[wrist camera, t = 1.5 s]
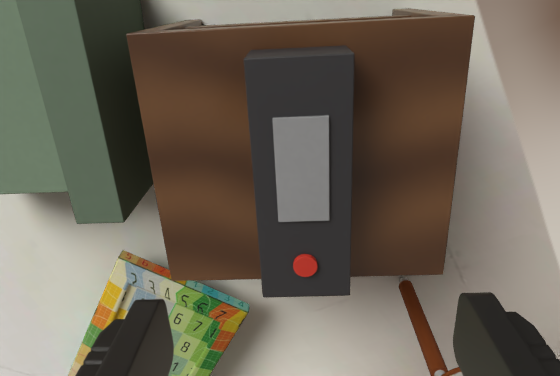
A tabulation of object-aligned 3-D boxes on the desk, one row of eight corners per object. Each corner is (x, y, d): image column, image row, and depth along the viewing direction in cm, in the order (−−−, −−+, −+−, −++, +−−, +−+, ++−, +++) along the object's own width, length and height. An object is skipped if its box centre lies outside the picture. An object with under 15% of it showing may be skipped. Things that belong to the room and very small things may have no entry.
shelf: (184, 20, 31) (125, 33, 20) (409, 8, 30) (475, 15, 19) (207, 196, 37) (171, 281, 26) (397, 189, 36) (443, 274, 25)
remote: (249, 49, 20) (242, 59, 17) (346, 45, 20) (355, 53, 17) (266, 264, 25) (262, 301, 22) (343, 263, 25) (350, 298, 22)
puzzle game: (48, 417, 42) (114, 263, 34) (71, 377, 46) (134, 233, 38) (162, 456, 44) (247, 319, 36) (173, 415, 48) (252, 285, 40)
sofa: (3, 170, 36) (-94, 229, 27) (-58, -13, 31) (-207, -16, 22) (167, 164, 36) (124, 222, 27) (136, -24, 30) (67, -33, 21)
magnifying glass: (429, 241, 38) (555, 469, 20) (443, 251, 38) (580, 484, 20) (364, 304, 41) (422, 553, 23) (378, 313, 41) (445, 564, 23)
